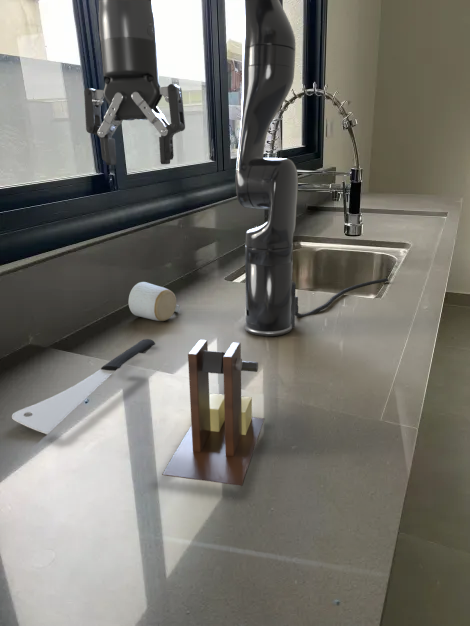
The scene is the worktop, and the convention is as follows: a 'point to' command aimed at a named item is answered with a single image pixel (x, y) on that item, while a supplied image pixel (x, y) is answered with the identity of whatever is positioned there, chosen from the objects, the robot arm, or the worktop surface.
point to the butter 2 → (246, 413)
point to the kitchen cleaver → (73, 394)
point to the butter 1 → (216, 411)
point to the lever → (215, 363)
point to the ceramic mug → (152, 302)
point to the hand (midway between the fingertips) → (138, 164)
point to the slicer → (200, 442)
